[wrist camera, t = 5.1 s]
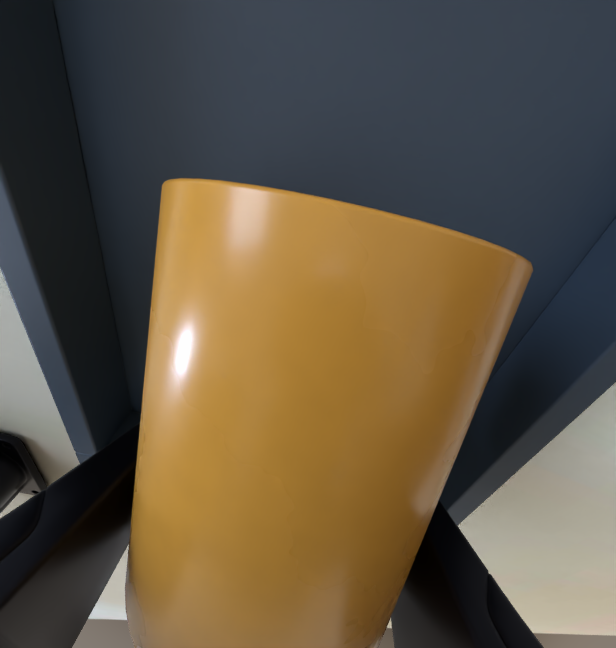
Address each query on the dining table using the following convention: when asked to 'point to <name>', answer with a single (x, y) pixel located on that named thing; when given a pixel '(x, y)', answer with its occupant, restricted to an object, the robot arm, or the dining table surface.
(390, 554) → the tapered yellow cylinder
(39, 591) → the robot arm
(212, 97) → the blue tray
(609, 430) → the dining table surface
